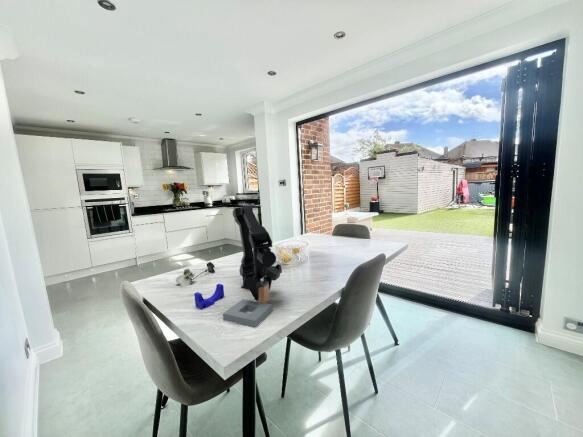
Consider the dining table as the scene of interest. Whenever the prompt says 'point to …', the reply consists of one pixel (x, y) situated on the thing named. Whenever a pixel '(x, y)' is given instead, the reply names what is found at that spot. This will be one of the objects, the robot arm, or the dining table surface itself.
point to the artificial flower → (192, 275)
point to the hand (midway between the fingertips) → (262, 295)
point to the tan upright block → (264, 292)
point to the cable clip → (210, 301)
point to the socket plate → (248, 319)
